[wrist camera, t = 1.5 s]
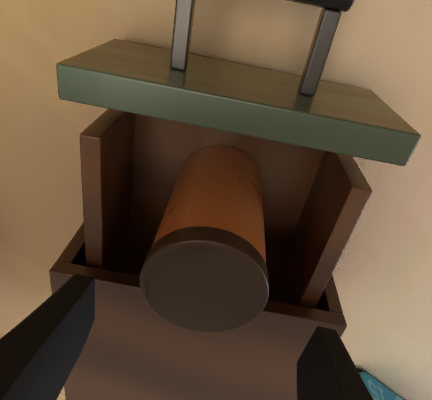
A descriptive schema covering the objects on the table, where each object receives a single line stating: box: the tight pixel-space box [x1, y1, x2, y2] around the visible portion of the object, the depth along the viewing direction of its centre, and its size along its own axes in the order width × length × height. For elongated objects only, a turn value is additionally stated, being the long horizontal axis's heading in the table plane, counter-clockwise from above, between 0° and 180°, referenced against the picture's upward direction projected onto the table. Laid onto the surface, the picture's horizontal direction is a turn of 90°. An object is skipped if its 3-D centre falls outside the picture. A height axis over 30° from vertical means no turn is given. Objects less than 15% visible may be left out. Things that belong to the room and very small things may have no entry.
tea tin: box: [140, 146, 269, 333], centre depth 15 cm, size 4×4×8 cm
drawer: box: [56, 0, 421, 309], centre depth 16 cm, size 17×12×6 cm
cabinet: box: [49, 223, 347, 400], centre depth 22 cm, size 13×13×7 cm
